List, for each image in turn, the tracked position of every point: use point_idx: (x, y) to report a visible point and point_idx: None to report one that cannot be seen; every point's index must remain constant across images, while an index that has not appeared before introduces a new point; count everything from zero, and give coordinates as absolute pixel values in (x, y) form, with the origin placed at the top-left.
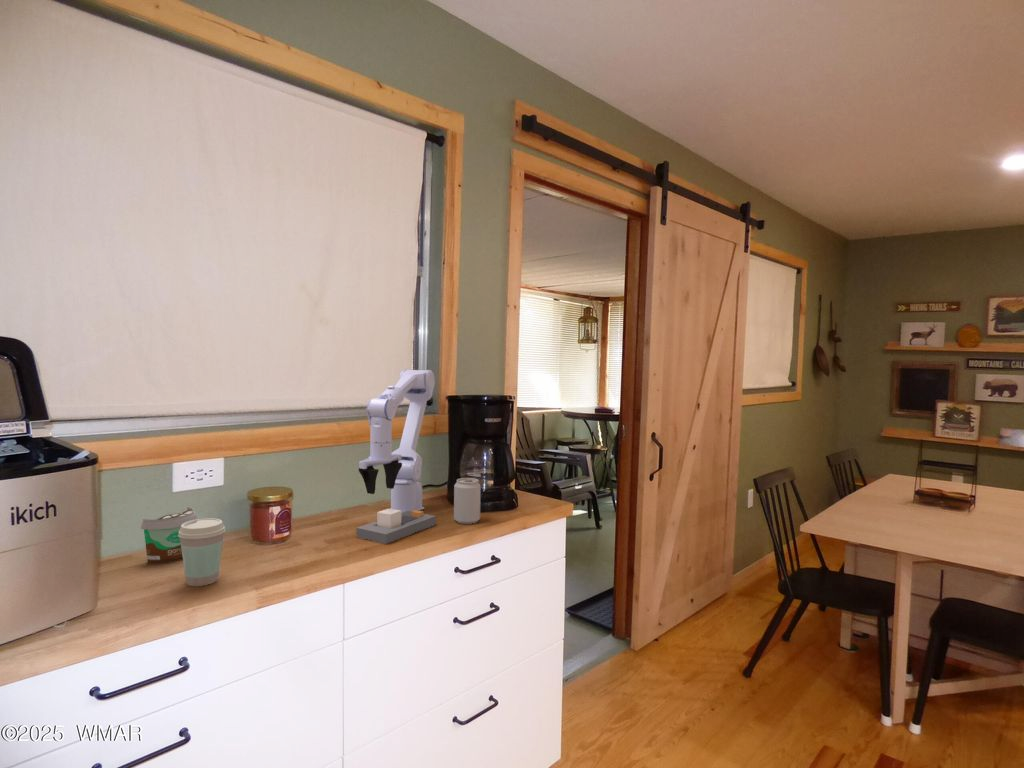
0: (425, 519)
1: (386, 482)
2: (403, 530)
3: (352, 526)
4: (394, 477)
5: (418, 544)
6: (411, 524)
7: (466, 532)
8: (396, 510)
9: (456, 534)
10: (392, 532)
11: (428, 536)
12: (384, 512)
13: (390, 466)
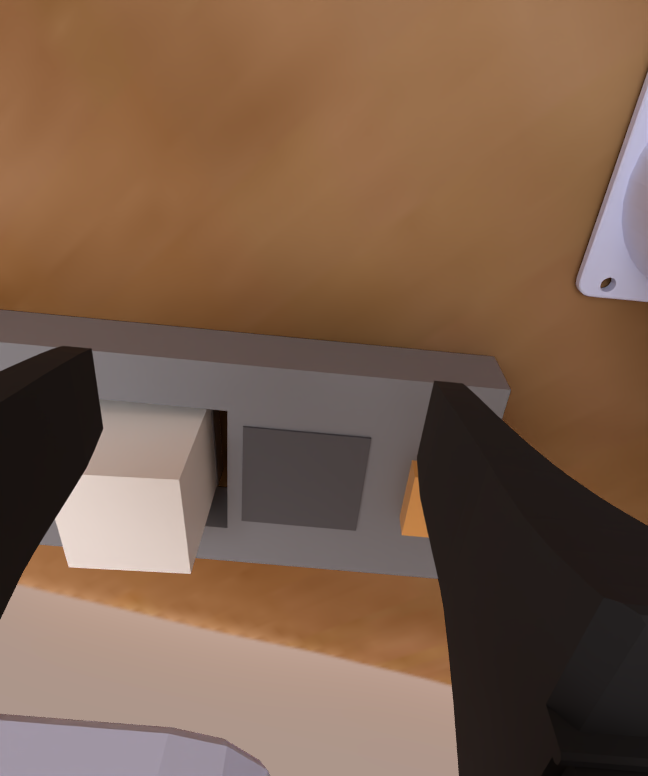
0: (357, 568)
1: (448, 418)
2: None
3: (128, 87)
4: (448, 596)
5: (132, 600)
6: (226, 557)
7: (389, 668)
8: (172, 549)
9: (343, 651)
10: (55, 543)
11: (252, 585)
12: (75, 514)
13: (505, 727)
